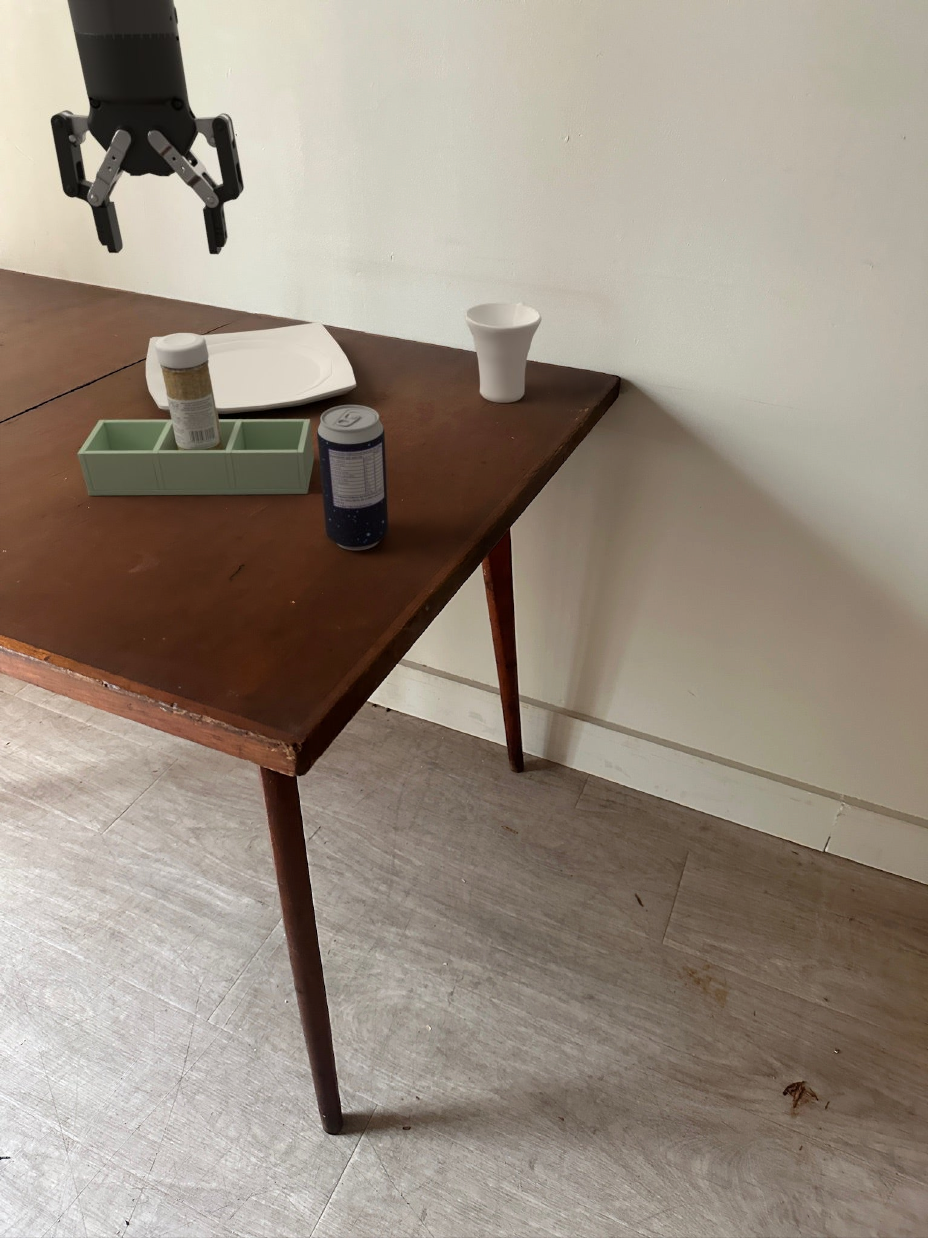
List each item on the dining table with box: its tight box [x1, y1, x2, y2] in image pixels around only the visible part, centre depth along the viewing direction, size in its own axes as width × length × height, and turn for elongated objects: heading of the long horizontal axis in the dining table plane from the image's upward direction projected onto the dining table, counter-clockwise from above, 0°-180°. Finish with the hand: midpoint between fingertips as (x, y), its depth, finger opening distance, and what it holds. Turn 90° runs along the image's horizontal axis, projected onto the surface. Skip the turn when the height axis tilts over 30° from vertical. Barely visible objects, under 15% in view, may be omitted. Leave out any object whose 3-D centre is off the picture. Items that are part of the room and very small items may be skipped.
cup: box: [464, 301, 542, 404], centre depth 104 cm, size 9×9×10 cm
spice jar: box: [155, 332, 223, 450], centre depth 84 cm, size 5×5×13 cm
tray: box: [77, 418, 315, 497], centre depth 87 cm, size 21×8×5 cm, turn 93°
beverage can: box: [316, 404, 389, 551], centre depth 76 cm, size 6×6×12 cm
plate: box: [145, 322, 357, 415], centre depth 107 cm, size 24×24×3 cm
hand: (166, 251), depth 75 cm, fingers open, 8 cm apart
